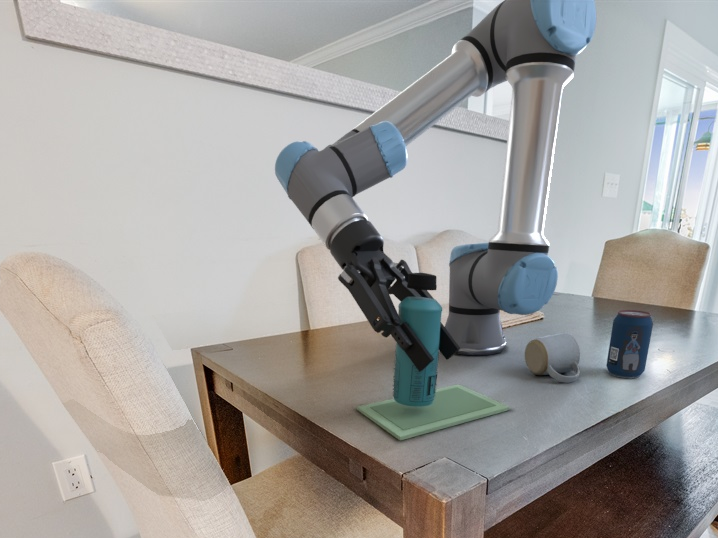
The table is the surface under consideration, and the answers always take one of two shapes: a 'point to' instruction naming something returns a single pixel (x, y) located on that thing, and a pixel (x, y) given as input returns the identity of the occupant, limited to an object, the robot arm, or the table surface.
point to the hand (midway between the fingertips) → (440, 359)
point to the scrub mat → (432, 412)
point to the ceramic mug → (554, 356)
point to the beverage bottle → (426, 325)
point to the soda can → (629, 343)
